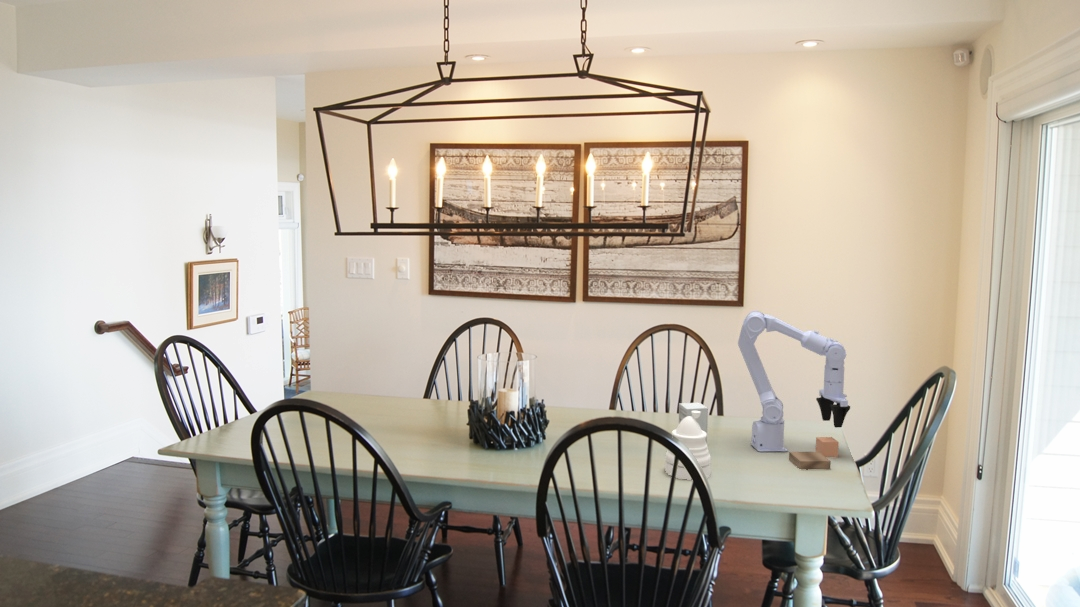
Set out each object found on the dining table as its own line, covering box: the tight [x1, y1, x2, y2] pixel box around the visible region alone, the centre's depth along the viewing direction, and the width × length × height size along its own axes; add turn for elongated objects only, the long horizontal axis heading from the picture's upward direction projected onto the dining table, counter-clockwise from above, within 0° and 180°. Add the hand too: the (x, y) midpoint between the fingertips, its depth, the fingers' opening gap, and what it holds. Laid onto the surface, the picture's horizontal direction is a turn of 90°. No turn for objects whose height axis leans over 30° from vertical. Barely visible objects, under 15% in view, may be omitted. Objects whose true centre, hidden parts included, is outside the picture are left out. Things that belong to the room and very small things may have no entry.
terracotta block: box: [814, 436, 840, 458], centre depth 237 cm, size 5×5×5 cm
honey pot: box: [664, 411, 712, 481], centre depth 220 cm, size 13×13×18 cm
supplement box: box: [678, 402, 709, 444], centre depth 248 cm, size 7×7×13 cm
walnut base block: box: [788, 451, 832, 471], centre depth 228 cm, size 9×9×3 cm
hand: (832, 423), depth 237 cm, fingers open, 7 cm apart
